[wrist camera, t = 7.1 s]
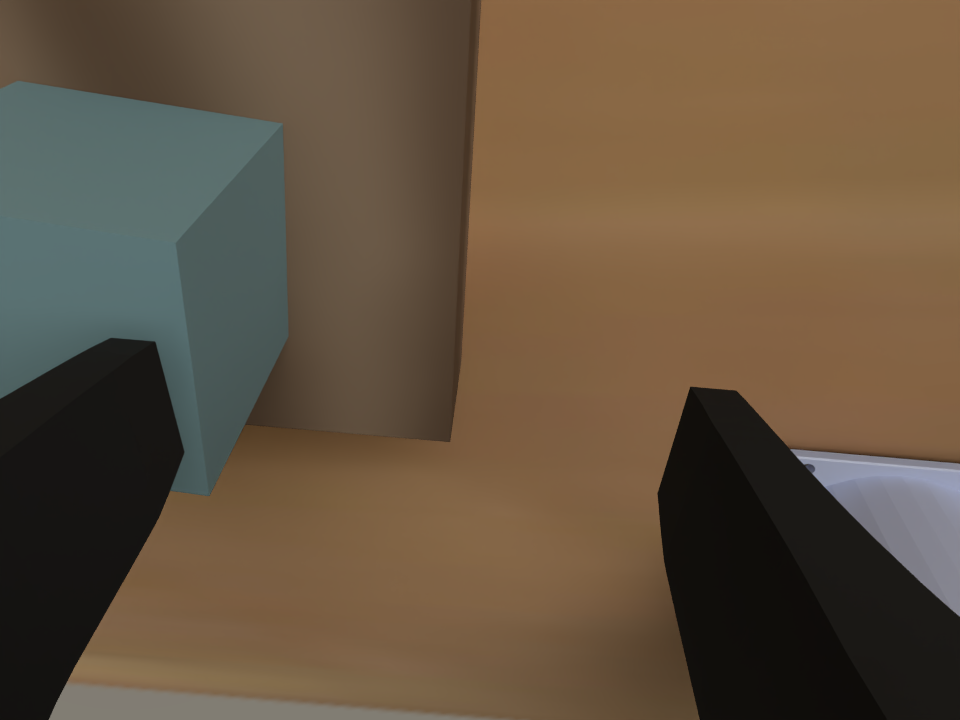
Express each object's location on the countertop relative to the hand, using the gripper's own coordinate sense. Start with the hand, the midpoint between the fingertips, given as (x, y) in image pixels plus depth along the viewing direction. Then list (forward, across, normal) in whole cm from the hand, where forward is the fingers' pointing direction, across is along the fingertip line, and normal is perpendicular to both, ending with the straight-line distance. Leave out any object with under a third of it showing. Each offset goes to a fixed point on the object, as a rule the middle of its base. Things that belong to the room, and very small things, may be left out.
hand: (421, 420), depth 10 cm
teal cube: (+6, +6, 0) cm, 8 cm away
